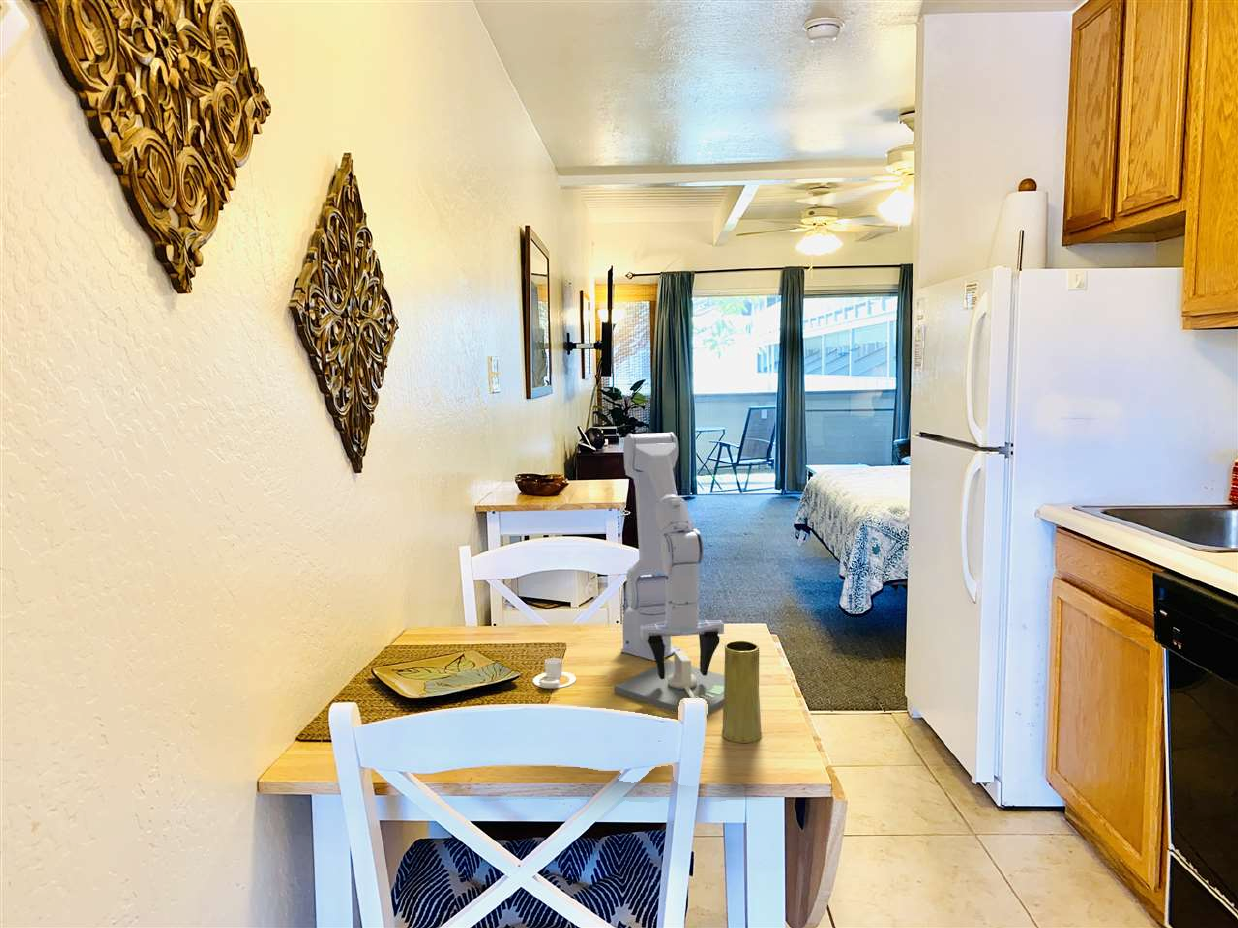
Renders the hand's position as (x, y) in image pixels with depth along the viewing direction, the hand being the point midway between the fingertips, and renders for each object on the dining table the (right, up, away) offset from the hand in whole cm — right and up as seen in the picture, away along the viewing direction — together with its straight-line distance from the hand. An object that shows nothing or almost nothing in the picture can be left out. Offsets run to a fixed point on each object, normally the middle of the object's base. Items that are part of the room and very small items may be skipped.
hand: (682, 675), depth 140 cm
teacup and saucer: (-26, -3, +5) cm, 27 cm away
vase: (+8, -5, -17) cm, 19 cm away
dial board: (0, -3, 0) cm, 3 cm away
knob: (0, -2, -2) cm, 3 cm away
